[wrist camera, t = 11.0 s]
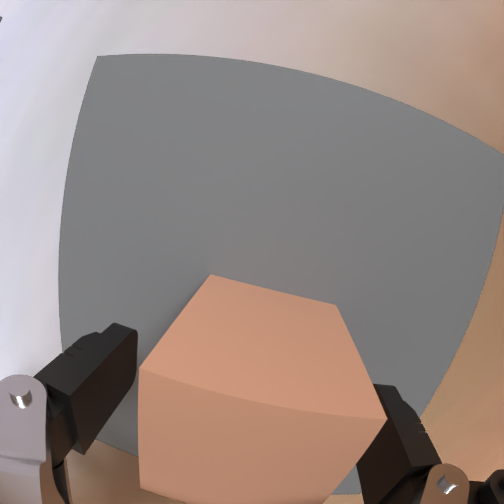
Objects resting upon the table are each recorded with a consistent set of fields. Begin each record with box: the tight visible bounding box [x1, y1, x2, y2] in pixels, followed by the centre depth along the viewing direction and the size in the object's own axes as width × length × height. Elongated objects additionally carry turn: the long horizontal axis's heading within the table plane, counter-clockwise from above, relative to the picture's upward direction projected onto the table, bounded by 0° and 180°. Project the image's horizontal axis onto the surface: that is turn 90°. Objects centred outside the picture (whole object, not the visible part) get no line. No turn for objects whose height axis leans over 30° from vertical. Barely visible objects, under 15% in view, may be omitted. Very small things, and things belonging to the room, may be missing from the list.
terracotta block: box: [138, 274, 387, 504], centre depth 8 cm, size 5×5×6 cm
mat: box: [58, 54, 504, 494], centre depth 11 cm, size 20×18×1 cm
